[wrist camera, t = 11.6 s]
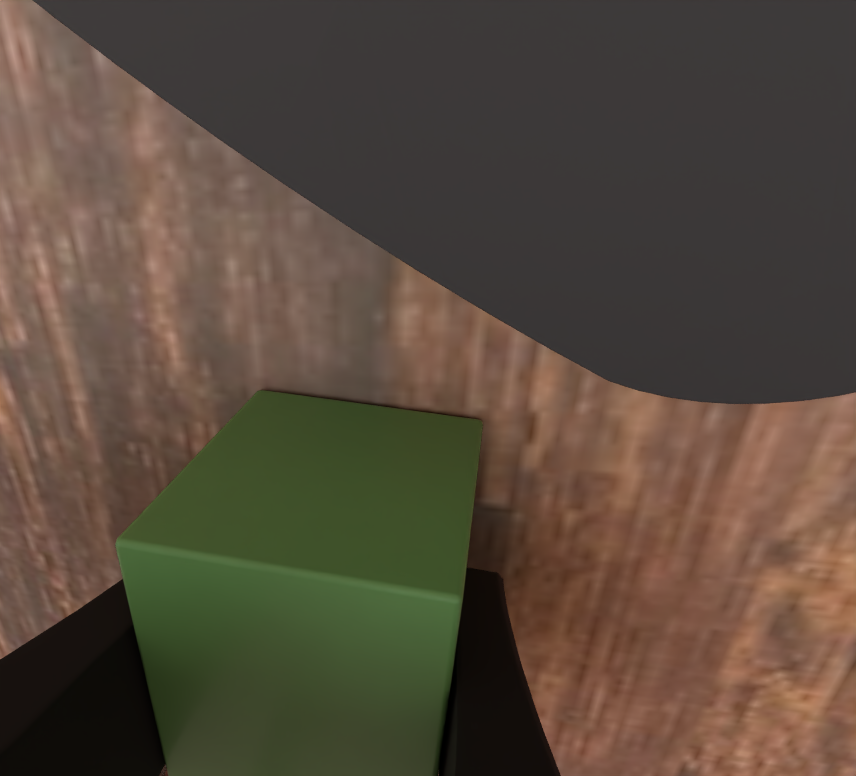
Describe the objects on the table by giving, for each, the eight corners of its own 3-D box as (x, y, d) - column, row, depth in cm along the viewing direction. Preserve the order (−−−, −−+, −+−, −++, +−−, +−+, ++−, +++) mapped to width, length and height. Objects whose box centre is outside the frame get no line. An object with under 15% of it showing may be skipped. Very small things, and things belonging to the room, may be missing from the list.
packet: (451, 657, 12) (422, 882, 9) (274, 626, 13) (178, 828, 9) (484, 418, 9) (462, 599, 6) (258, 387, 10) (110, 540, 6)
